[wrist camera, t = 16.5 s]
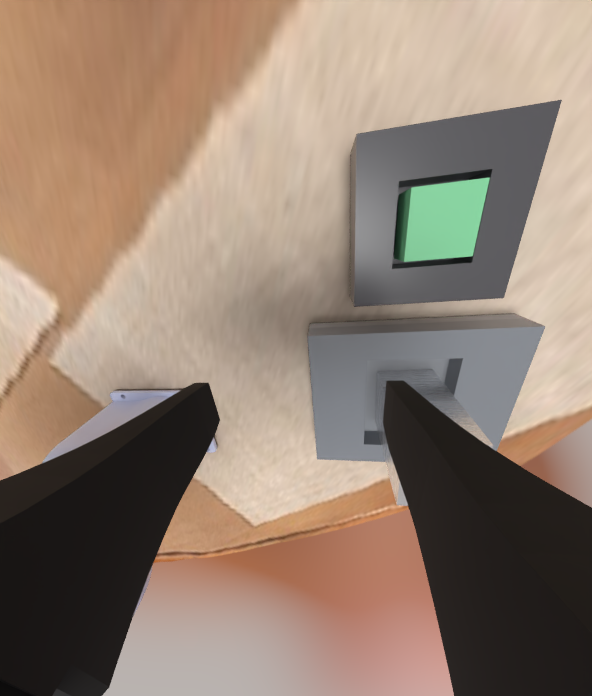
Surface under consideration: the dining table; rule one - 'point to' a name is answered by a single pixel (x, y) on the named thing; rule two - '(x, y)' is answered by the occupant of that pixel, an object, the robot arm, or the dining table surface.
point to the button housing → (436, 168)
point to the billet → (437, 395)
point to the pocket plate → (412, 354)
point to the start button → (439, 220)
